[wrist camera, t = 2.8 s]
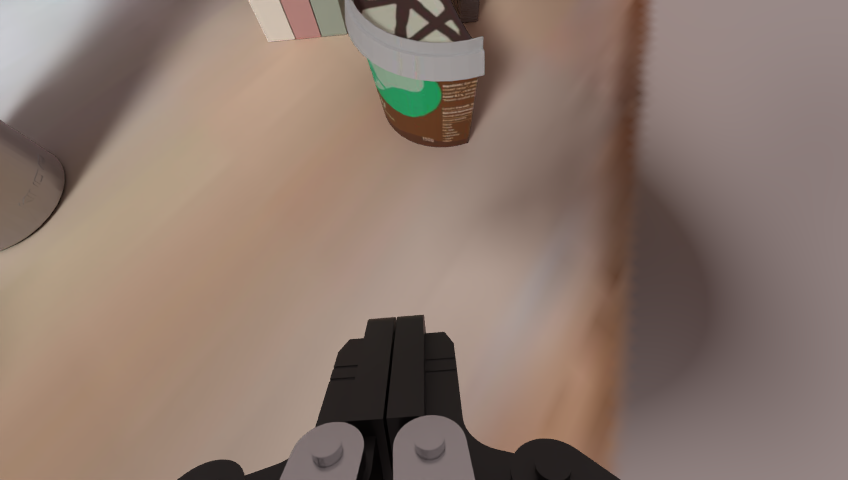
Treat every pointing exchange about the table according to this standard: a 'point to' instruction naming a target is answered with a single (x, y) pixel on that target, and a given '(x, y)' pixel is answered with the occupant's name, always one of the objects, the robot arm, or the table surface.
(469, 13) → the bookend
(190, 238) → the table surface
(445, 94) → the food container
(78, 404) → the table surface
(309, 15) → the row of books
